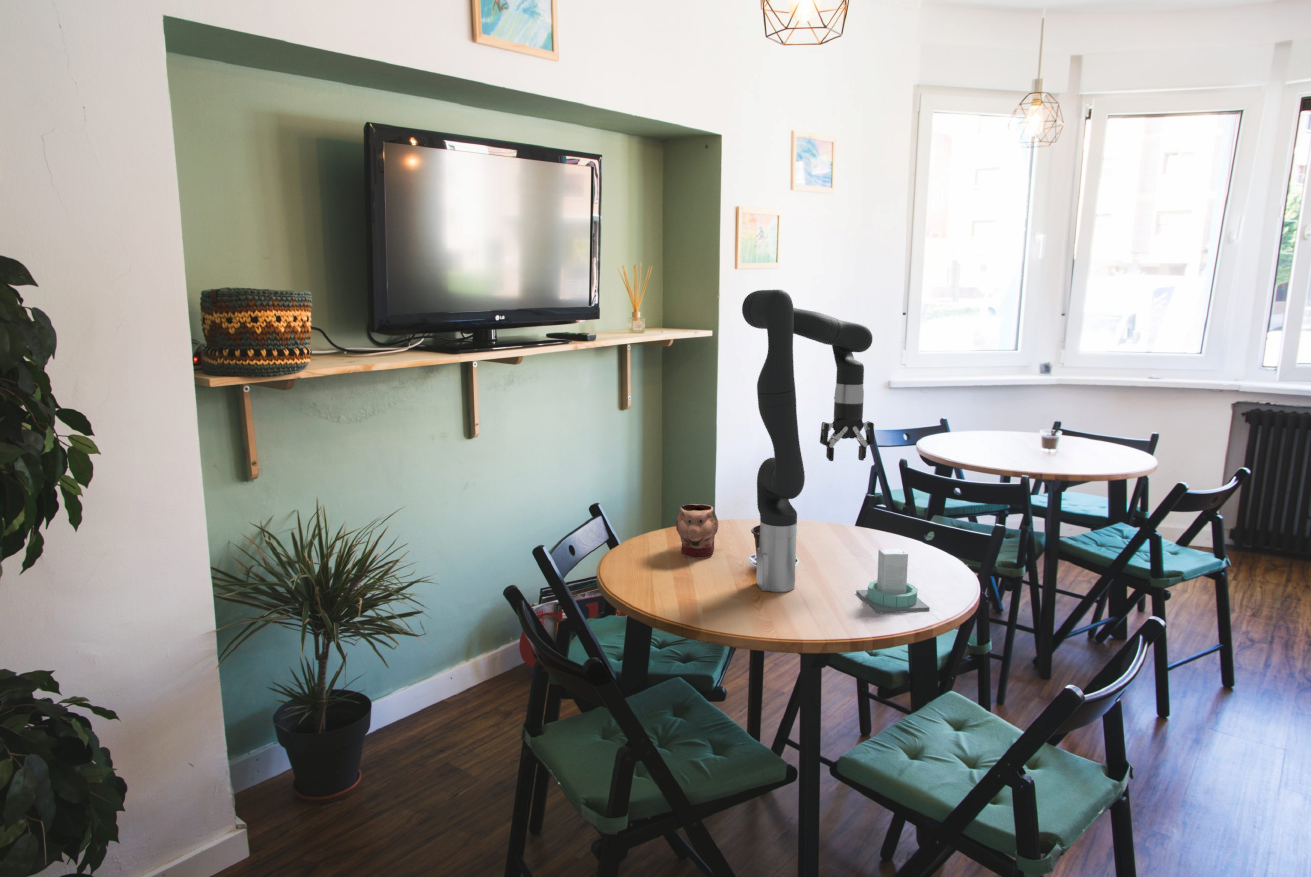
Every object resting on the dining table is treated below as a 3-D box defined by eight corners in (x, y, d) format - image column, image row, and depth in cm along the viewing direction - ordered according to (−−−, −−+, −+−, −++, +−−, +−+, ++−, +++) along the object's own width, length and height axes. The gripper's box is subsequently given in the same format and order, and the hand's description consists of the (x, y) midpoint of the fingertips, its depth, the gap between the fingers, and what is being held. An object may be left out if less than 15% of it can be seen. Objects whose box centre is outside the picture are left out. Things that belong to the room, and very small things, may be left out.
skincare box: (899, 594, 198) (902, 548, 196) (906, 601, 194) (908, 553, 192) (875, 595, 198) (878, 548, 196) (881, 601, 194) (884, 554, 192)
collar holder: (877, 613, 189) (878, 598, 188) (856, 593, 202) (856, 579, 201) (929, 610, 191) (930, 596, 190) (905, 590, 203) (905, 577, 203)
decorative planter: (675, 541, 243) (676, 497, 241) (715, 542, 243) (716, 497, 241) (676, 563, 224) (676, 515, 221) (719, 563, 223) (720, 515, 221)
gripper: (828, 402, 208) (825, 463, 211) (880, 402, 210) (876, 462, 213) (818, 399, 216) (815, 458, 218) (868, 398, 218) (865, 457, 221)
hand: (846, 460), depth 216 cm, fingers open, 8 cm apart
